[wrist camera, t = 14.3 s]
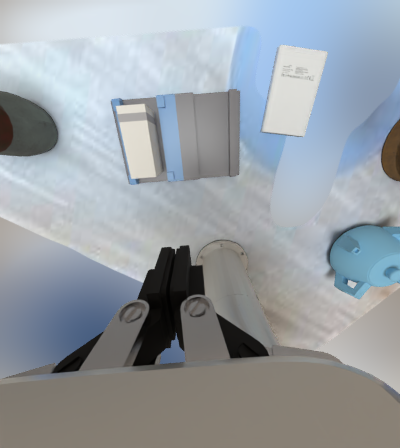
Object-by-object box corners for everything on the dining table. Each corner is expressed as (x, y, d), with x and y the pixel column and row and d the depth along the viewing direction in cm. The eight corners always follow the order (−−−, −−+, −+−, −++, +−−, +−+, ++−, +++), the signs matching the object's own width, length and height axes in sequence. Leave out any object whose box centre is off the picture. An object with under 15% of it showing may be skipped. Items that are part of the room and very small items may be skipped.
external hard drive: (259, 132, 35) (276, 48, 30) (300, 137, 36) (323, 56, 31) (262, 131, 34) (280, 43, 29) (304, 136, 34) (329, 51, 29)
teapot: (323, 227, 43) (361, 251, 33) (389, 212, 42) (450, 232, 32) (321, 278, 49) (354, 311, 39) (380, 265, 48) (429, 297, 38)
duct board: (238, 174, 37) (241, 176, 35) (130, 183, 37) (126, 185, 35) (238, 92, 32) (242, 87, 30) (112, 102, 32) (106, 98, 29)
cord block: (163, 171, 36) (156, 177, 29) (142, 173, 36) (131, 178, 29) (154, 112, 32) (144, 103, 25) (131, 114, 32) (115, 105, 25)
